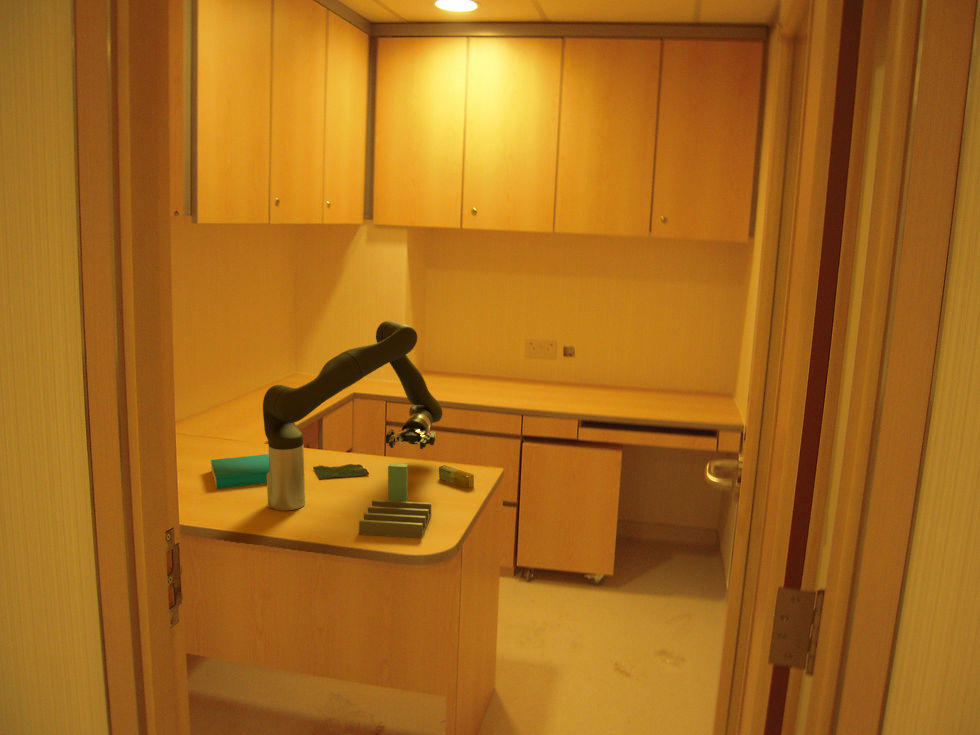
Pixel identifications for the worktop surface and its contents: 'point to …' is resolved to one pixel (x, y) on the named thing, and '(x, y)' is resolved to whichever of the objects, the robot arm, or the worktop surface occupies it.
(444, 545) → the worktop surface
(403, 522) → the rack
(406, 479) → the card
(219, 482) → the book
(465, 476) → the medication box
